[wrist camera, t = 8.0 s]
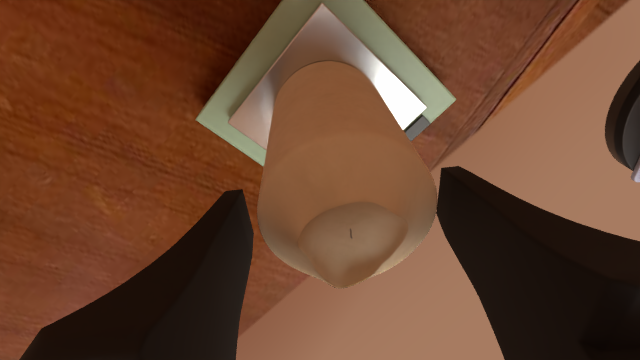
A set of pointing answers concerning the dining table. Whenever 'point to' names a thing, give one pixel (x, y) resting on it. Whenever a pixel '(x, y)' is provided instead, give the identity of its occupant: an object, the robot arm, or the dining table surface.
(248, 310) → the dining table surface
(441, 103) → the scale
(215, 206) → the robot arm
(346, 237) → the candle
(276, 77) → the thin square metal plate
